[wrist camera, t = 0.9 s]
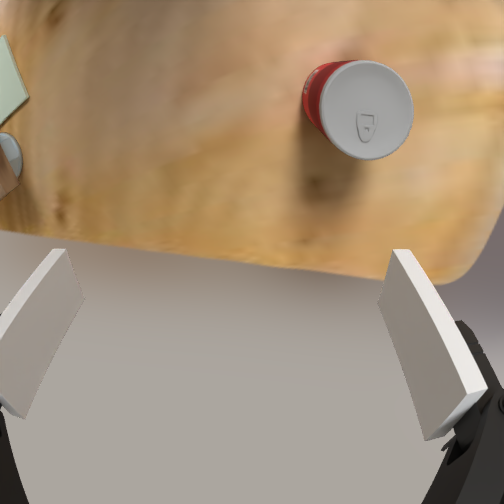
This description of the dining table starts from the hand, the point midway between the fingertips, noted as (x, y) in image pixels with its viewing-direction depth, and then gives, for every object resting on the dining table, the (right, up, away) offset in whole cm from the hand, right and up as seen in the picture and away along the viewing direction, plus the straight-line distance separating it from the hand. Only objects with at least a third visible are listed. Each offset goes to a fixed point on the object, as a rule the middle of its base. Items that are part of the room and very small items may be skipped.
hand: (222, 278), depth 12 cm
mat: (-34, +23, +15) cm, 44 cm away
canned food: (+10, +17, +18) cm, 27 cm away
